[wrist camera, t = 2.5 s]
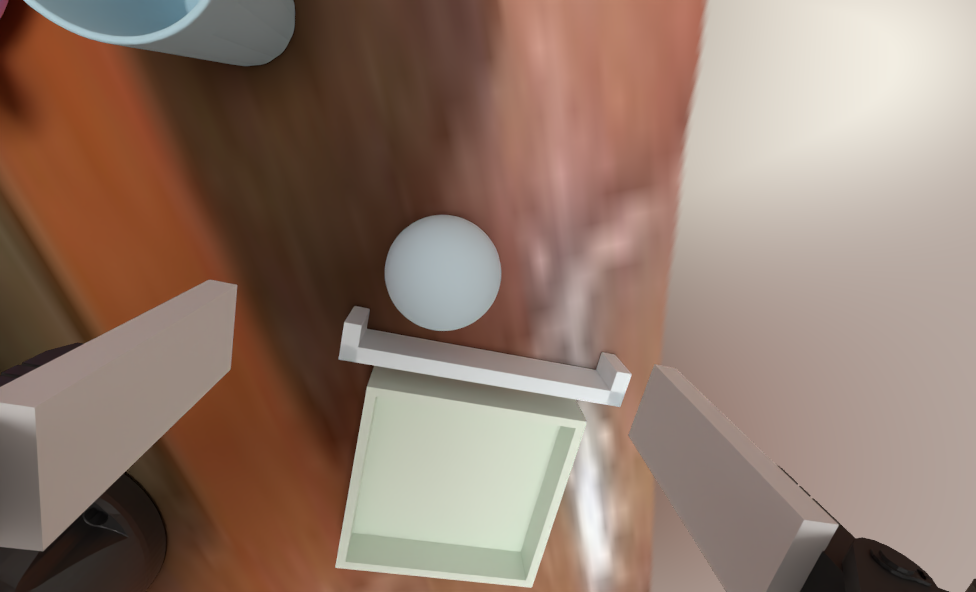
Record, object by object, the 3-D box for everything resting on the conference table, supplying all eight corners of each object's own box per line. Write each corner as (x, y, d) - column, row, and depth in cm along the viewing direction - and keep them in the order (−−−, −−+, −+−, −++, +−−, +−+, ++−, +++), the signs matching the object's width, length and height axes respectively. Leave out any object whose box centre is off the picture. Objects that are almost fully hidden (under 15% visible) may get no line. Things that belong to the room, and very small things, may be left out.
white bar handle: (348, 339, 29) (338, 359, 27) (354, 305, 29) (344, 322, 26) (604, 384, 32) (620, 407, 29) (615, 354, 32) (631, 374, 29)
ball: (384, 298, 29) (367, 337, 23) (401, 197, 27) (388, 210, 21) (482, 317, 30) (491, 359, 24) (505, 221, 28) (522, 239, 22)
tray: (344, 532, 34) (335, 567, 31) (374, 363, 30) (366, 386, 27) (524, 552, 36) (531, 587, 33) (574, 397, 32) (587, 422, 29)
